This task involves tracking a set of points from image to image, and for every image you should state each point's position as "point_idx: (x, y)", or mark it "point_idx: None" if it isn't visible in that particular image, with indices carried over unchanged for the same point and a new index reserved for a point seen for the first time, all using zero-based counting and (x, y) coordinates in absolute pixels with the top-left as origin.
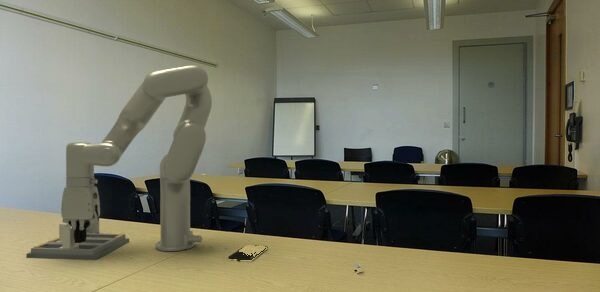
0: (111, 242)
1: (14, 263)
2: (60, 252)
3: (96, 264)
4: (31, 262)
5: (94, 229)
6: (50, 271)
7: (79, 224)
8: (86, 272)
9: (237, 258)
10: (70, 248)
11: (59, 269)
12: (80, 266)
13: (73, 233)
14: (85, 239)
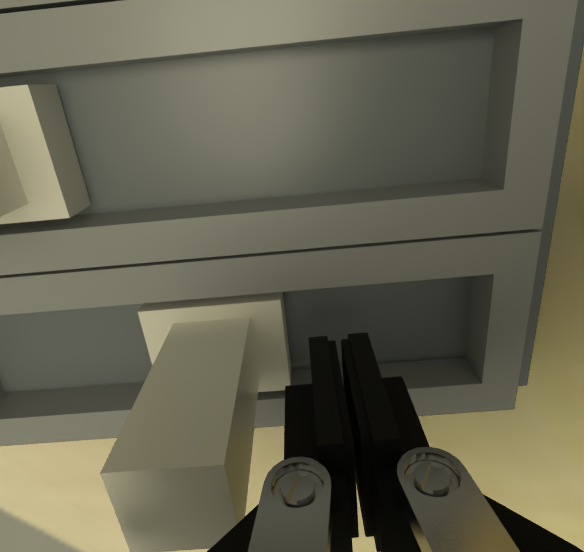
0: (556, 83)
1: (35, 492)
2: None
3: (554, 436)
4: None
5: None
6: (352, 548)
7: (322, 533)
8: (555, 534)
9: None
10: (274, 390)
11: None
12: (470, 475)
13: (238, 431)
14: (367, 340)
